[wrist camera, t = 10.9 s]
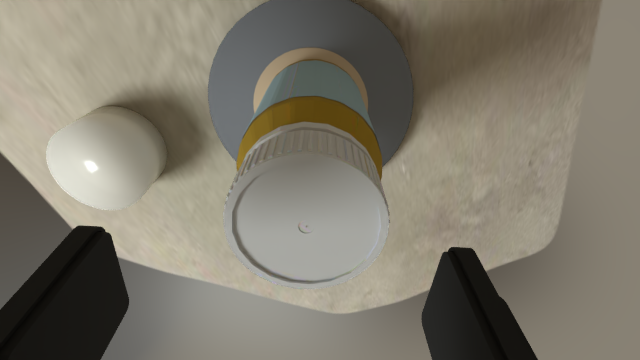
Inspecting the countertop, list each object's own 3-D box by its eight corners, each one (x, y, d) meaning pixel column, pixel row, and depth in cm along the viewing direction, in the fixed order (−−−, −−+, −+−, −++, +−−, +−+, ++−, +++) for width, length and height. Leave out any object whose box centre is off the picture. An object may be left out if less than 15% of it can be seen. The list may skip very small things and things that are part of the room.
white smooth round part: (69, 102, 28) (33, 119, 24) (161, 109, 28) (138, 127, 24) (90, 181, 31) (61, 206, 28) (172, 187, 31) (153, 213, 28)
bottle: (249, 78, 25) (172, 180, 12) (343, 41, 24) (369, 110, 11) (288, 162, 29) (260, 314, 15) (373, 132, 27) (421, 270, 14)
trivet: (204, -18, 24) (199, -18, 23) (431, 3, 24) (435, 4, 23) (217, 181, 31) (214, 188, 30) (391, 194, 31) (393, 201, 30)
